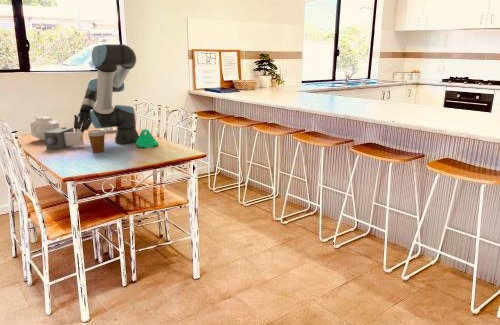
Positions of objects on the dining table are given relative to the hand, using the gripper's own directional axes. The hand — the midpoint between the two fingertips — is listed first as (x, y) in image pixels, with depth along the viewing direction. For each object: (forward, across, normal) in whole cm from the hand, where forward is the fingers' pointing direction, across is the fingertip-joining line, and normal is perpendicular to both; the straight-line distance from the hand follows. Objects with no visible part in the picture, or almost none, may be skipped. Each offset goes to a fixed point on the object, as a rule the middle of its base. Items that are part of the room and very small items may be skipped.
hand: (77, 138), depth 249 cm
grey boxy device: (+5, +11, -1) cm, 12 cm away
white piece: (-31, +5, -39) cm, 50 cm away
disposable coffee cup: (+11, -19, +5) cm, 23 cm away
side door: (+4, +1, -1) cm, 4 cm away
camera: (-5, +29, -12) cm, 31 cm away
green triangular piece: (0, -43, -7) cm, 43 cm away
